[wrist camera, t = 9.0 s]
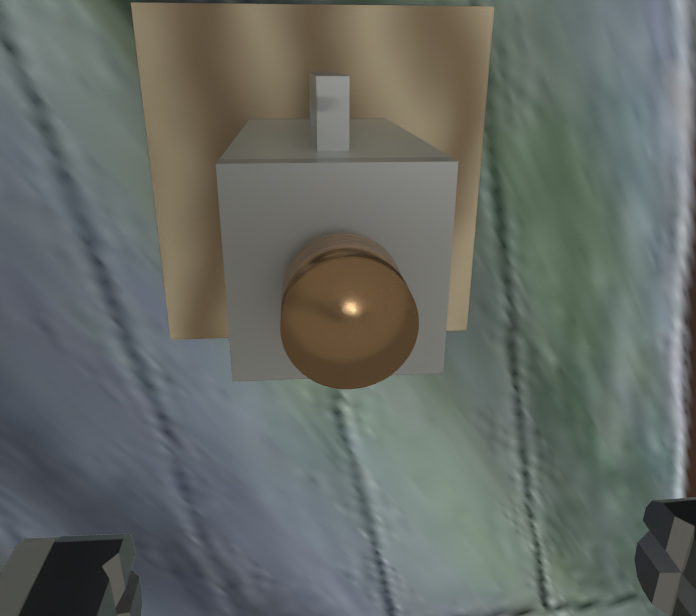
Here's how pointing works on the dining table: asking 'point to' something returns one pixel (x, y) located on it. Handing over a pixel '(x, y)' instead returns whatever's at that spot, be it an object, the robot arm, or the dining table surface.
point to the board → (296, 114)
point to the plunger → (346, 312)
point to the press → (331, 218)
